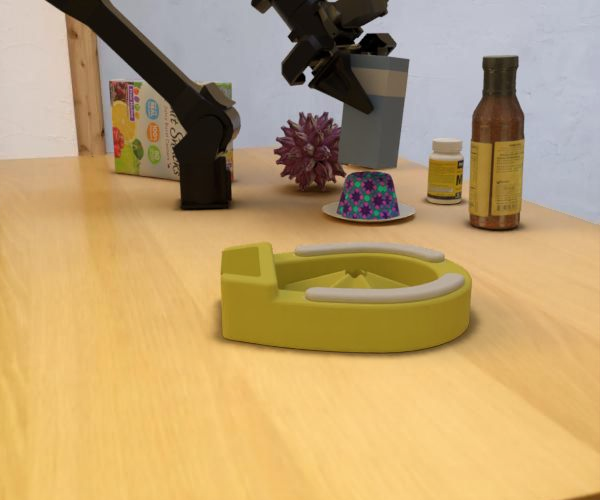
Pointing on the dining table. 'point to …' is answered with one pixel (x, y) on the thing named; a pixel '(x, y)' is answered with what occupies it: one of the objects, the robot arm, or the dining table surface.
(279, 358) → the dining table surface
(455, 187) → the supplement bottle
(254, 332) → the yellow curved tray
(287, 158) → the flower
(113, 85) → the snack box
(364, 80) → the block
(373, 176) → the pudding
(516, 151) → the sauce bottle
